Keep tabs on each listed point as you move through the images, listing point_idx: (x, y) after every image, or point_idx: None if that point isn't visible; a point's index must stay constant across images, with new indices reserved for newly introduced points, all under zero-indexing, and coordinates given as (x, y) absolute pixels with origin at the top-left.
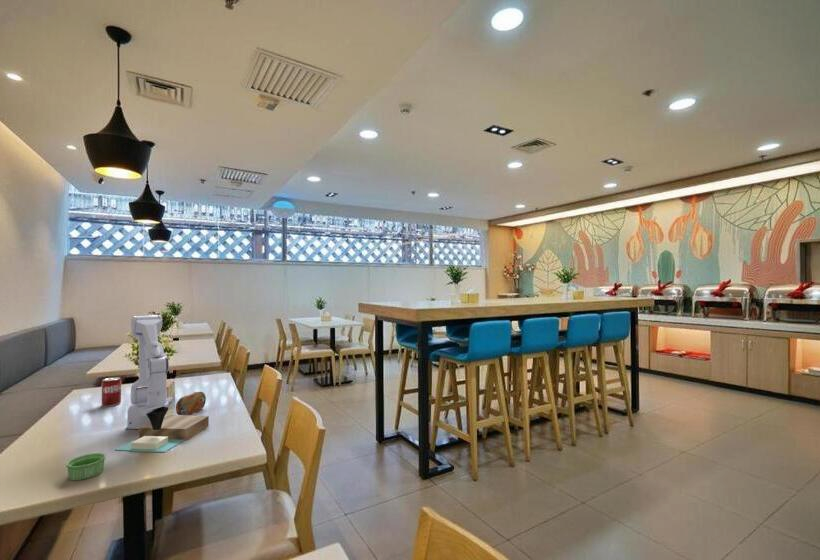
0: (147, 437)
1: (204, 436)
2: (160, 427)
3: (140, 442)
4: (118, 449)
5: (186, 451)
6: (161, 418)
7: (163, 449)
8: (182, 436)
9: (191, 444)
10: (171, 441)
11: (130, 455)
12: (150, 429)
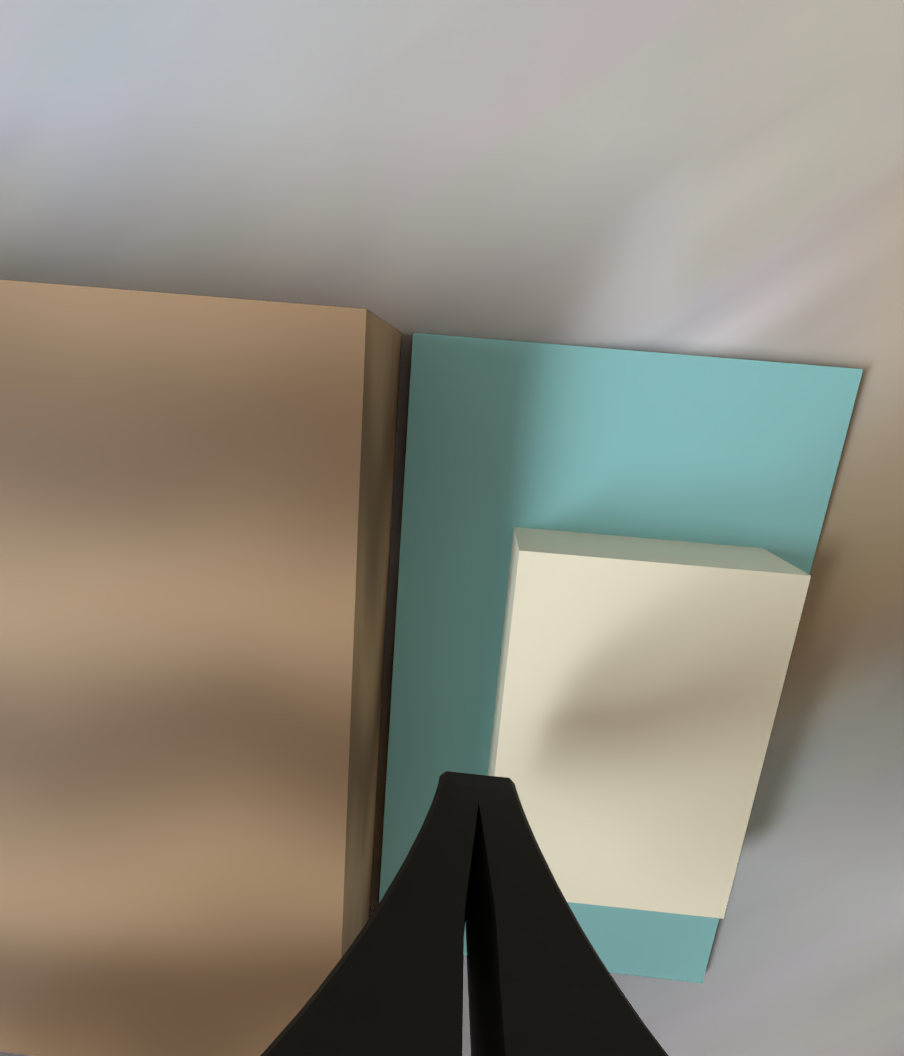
0: (543, 825)
1: (232, 78)
2: (465, 785)
3: (729, 813)
4: (702, 956)
5: (866, 12)
6: (460, 956)
7: (775, 439)
8: (390, 379)
9: (570, 111)
10: (482, 497)
11: (870, 754)
12: (347, 926)
